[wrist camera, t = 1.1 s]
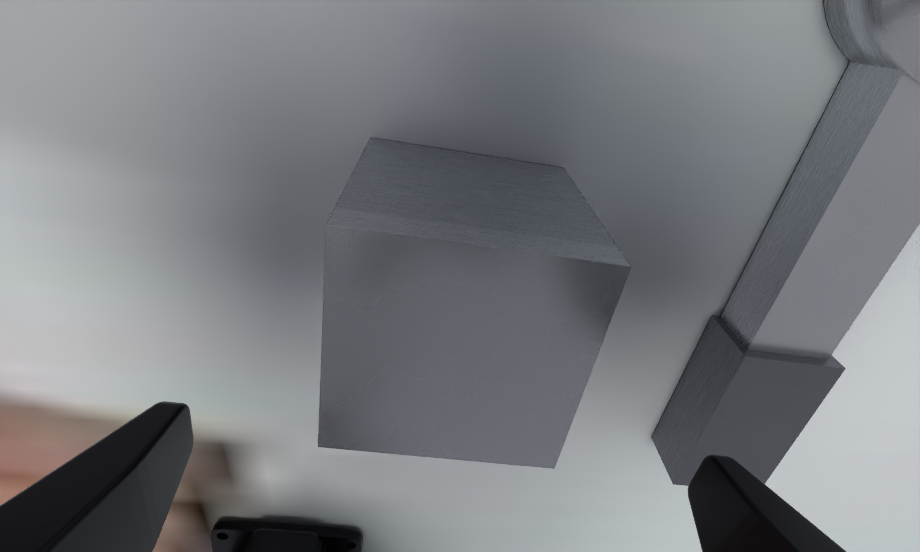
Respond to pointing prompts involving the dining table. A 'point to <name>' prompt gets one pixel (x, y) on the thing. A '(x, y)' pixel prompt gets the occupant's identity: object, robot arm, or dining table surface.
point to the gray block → (461, 306)
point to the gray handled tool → (810, 257)
